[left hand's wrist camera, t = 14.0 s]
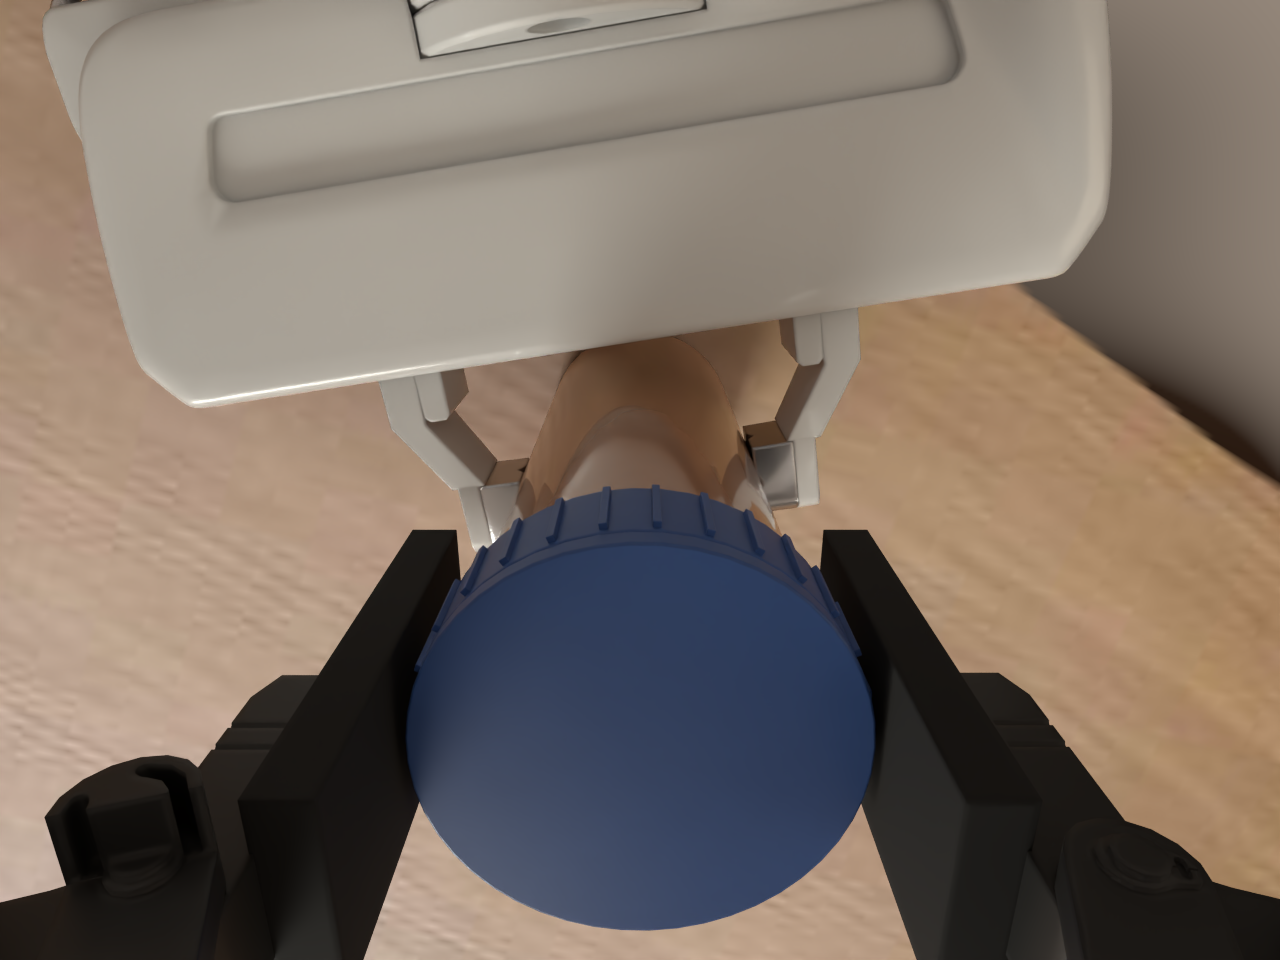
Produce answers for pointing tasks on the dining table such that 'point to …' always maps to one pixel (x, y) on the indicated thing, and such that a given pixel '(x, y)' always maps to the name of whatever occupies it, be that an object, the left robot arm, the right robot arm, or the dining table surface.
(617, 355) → the jar
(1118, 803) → the dining table surface
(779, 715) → the lid
